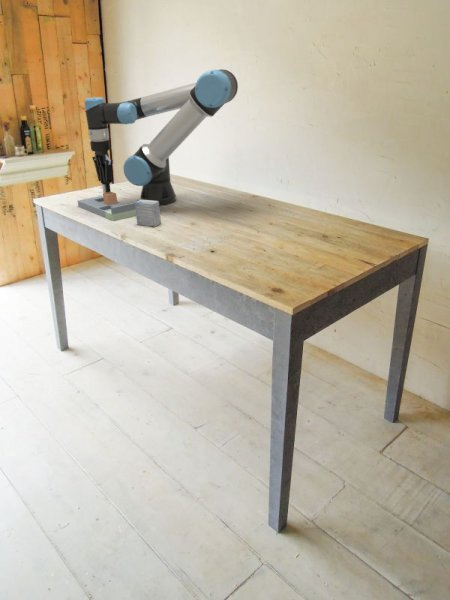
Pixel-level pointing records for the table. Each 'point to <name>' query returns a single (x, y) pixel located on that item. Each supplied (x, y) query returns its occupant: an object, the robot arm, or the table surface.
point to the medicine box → (147, 212)
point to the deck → (108, 208)
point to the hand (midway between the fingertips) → (107, 199)
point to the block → (110, 198)
